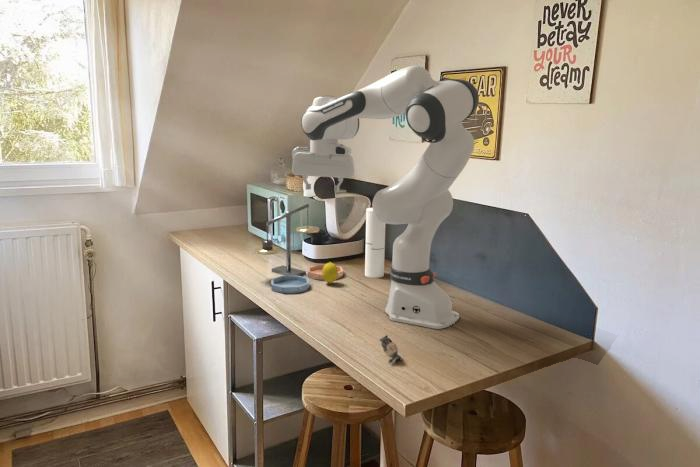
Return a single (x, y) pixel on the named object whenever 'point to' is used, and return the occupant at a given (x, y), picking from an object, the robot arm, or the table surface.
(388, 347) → the grey brown knobbly figurine
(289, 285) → the blue dish
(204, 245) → the table surface
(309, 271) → the terracotta dish
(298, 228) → the balance
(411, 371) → the table surface
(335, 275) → the lemon
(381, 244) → the cylindrical container
